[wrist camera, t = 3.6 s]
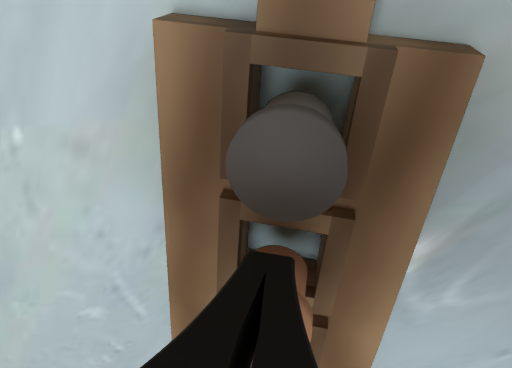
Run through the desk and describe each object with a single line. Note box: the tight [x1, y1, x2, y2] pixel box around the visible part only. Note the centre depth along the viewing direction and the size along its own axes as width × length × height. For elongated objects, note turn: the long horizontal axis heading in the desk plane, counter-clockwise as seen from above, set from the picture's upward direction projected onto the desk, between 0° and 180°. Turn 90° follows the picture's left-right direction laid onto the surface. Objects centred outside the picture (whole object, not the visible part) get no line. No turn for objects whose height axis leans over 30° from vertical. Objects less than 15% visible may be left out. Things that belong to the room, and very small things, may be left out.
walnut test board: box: [152, 0, 485, 368], centre depth 20 cm, size 12×24×3 cm, turn 176°
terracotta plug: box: [255, 245, 313, 342], centre depth 16 cm, size 4×4×3 cm
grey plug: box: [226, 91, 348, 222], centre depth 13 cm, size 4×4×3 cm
